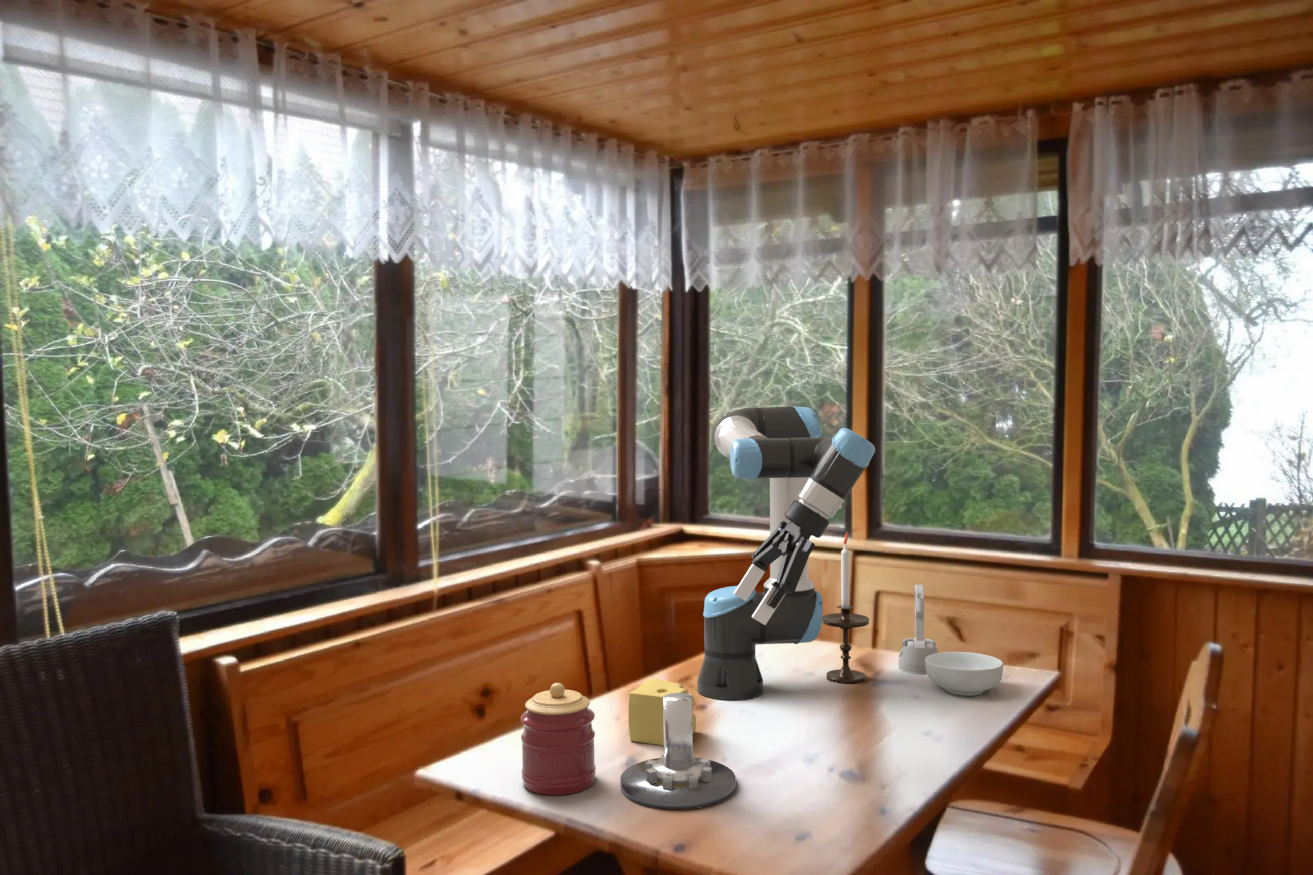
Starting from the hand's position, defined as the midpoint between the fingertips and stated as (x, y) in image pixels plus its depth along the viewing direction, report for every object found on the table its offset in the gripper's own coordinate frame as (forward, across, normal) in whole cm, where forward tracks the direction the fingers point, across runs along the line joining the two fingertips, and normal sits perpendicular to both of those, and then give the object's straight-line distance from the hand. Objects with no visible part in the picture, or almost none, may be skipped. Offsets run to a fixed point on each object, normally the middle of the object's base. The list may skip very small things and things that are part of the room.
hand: (748, 608), depth 179 cm
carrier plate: (+32, -8, -4) cm, 33 cm away
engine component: (-1, +53, -67) cm, 86 cm away
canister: (+44, -2, +13) cm, 45 cm away
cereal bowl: (-4, +34, -68) cm, 76 cm away
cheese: (+34, +17, -6) cm, 38 cm away
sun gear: (+30, -8, -3) cm, 31 cm away
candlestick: (+9, +49, -50) cm, 70 cm away
